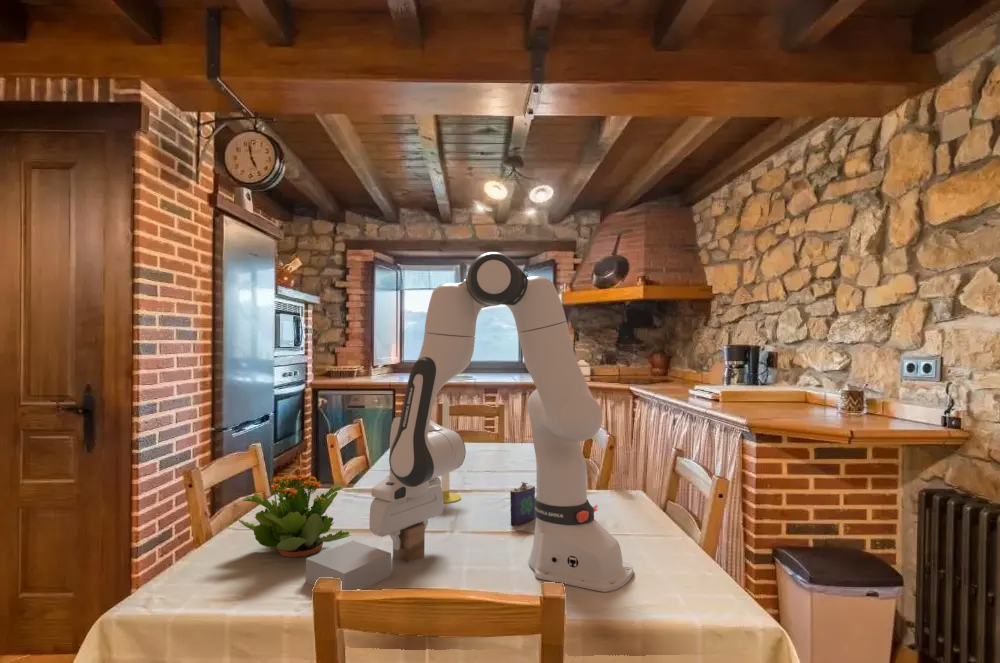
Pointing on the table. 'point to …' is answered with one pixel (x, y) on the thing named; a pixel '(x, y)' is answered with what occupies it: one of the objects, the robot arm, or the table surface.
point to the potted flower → (294, 517)
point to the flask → (522, 504)
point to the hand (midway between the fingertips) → (408, 544)
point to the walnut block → (411, 543)
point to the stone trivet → (350, 565)
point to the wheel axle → (445, 478)
